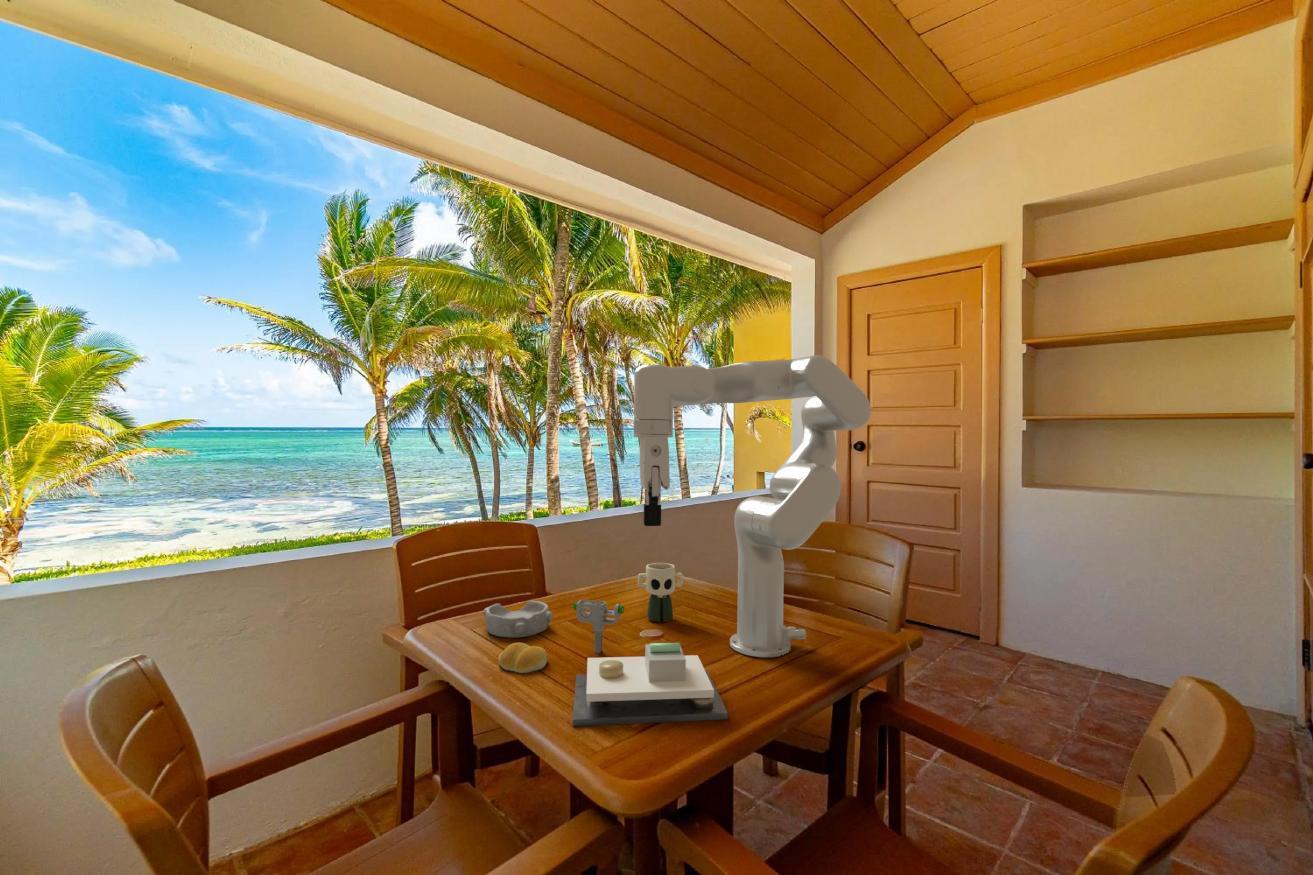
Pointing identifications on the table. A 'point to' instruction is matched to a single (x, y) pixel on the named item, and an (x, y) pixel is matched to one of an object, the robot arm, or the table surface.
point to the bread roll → (523, 658)
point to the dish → (518, 620)
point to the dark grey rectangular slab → (644, 708)
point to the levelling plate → (641, 685)
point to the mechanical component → (597, 617)
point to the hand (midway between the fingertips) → (652, 525)
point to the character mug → (660, 589)
